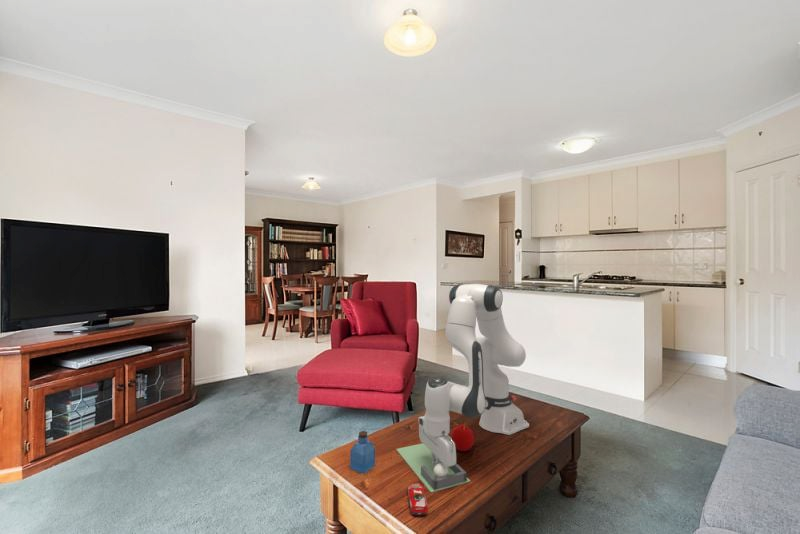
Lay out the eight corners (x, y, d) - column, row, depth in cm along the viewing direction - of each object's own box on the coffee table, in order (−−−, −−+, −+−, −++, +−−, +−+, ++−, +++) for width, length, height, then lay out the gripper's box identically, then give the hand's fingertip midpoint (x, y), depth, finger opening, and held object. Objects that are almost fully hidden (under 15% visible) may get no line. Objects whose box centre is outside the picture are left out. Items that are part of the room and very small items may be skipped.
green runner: (430, 442, 142) (430, 441, 142) (470, 481, 116) (470, 480, 116) (396, 449, 136) (396, 448, 136) (430, 492, 110) (430, 491, 110)
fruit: (472, 456, 132) (473, 430, 132) (449, 452, 135) (449, 426, 135) (475, 444, 141) (475, 419, 141) (452, 441, 143) (452, 416, 143)
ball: (442, 464, 121) (445, 458, 118) (448, 479, 118) (453, 474, 115) (429, 469, 119) (433, 463, 116) (436, 485, 116) (439, 479, 113)
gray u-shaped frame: (451, 467, 125) (451, 458, 125) (466, 481, 116) (466, 472, 116) (420, 475, 120) (420, 466, 120) (434, 491, 111) (434, 481, 111)
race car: (406, 489, 113) (406, 476, 113) (423, 489, 113) (423, 476, 113) (409, 518, 99) (409, 504, 99) (428, 518, 100) (428, 503, 100)
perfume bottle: (364, 473, 120) (364, 438, 120) (350, 468, 123) (350, 434, 123) (374, 465, 125) (375, 431, 125) (361, 460, 129) (361, 427, 129)
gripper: (461, 437, 114) (460, 480, 114) (431, 413, 133) (430, 449, 133) (444, 441, 111) (444, 484, 111) (416, 415, 130) (415, 453, 130)
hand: (436, 465), depth 122 cm, fingers closed
